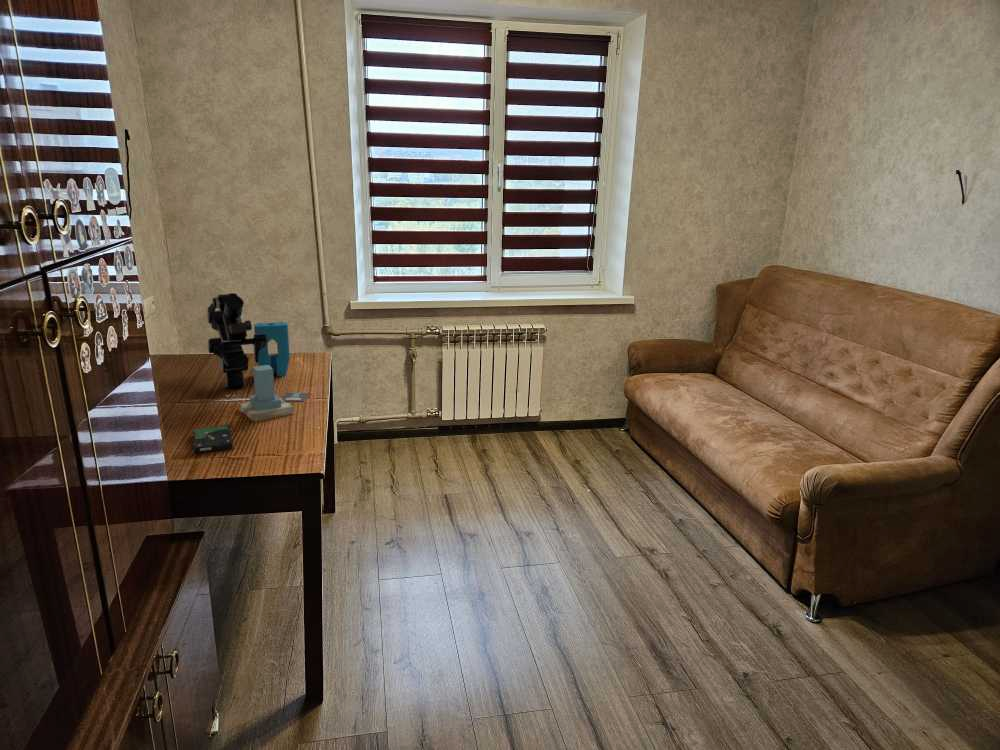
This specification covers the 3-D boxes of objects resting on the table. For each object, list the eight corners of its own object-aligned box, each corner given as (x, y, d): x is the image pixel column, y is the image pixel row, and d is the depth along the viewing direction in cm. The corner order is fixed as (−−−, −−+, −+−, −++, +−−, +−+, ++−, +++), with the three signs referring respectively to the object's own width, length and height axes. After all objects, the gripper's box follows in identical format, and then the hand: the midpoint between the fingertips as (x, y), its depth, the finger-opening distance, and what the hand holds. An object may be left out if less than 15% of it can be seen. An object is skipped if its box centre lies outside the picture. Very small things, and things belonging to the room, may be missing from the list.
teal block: (250, 403, 220) (247, 366, 216) (274, 399, 225) (272, 362, 221) (256, 411, 214) (253, 372, 210) (281, 407, 218) (278, 369, 214)
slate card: (286, 393, 237) (286, 392, 237) (308, 394, 238) (308, 392, 238) (280, 401, 230) (280, 400, 230) (303, 401, 230) (303, 400, 230)
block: (290, 371, 262) (287, 322, 256) (290, 375, 257) (287, 325, 251) (258, 373, 258) (254, 323, 252) (258, 377, 253) (254, 326, 247)
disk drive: (234, 451, 192) (230, 432, 204) (233, 442, 191) (229, 423, 203) (195, 456, 187) (193, 436, 200) (194, 447, 186) (192, 428, 199)
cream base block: (239, 412, 221) (238, 403, 220) (277, 404, 229) (276, 395, 228) (255, 423, 212) (254, 415, 211) (293, 415, 220) (293, 406, 219)
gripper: (205, 315, 218) (214, 355, 213) (264, 310, 228) (274, 349, 222) (204, 332, 227) (212, 372, 221) (260, 327, 236) (270, 365, 231)
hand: (242, 364), depth 224 cm, fingers open, 9 cm apart
